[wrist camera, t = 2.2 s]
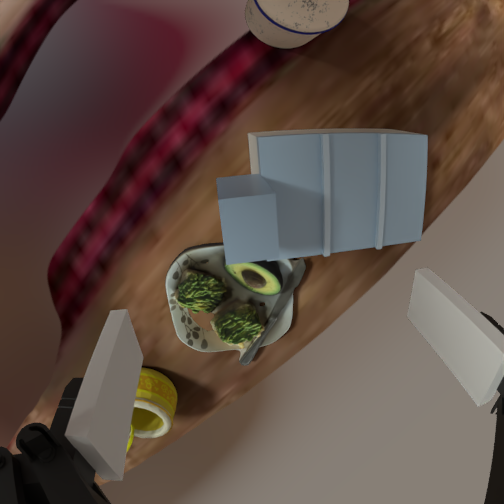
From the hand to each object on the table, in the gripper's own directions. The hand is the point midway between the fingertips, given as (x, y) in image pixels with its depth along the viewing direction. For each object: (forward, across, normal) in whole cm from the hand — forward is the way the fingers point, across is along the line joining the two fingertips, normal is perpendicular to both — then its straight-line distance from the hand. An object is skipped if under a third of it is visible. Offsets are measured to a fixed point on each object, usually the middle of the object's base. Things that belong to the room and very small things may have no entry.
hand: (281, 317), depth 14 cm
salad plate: (+26, -2, -14) cm, 30 cm away
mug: (+26, -19, -30) cm, 44 cm away
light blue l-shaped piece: (+19, +9, 0) cm, 21 cm away
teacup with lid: (+26, +6, +21) cm, 34 cm away
